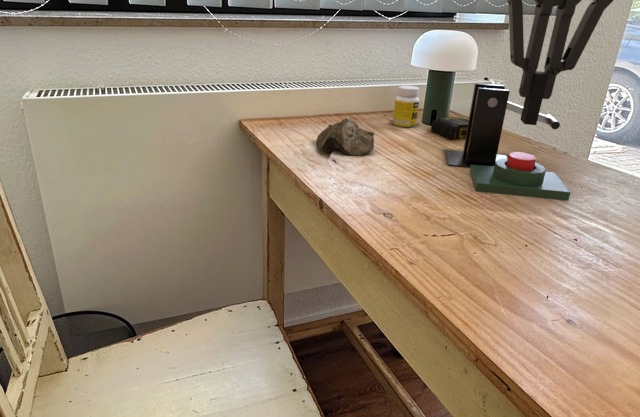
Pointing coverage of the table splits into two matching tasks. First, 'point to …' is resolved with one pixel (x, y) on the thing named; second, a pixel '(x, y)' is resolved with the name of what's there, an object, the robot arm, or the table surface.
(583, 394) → the table surface
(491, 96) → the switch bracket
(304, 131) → the table surface
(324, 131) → the fossilized seashell
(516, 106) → the switch lever
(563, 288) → the table surface
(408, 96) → the supplement bottle
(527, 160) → the red button
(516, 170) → the button box
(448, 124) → the tape measure
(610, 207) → the table surface
